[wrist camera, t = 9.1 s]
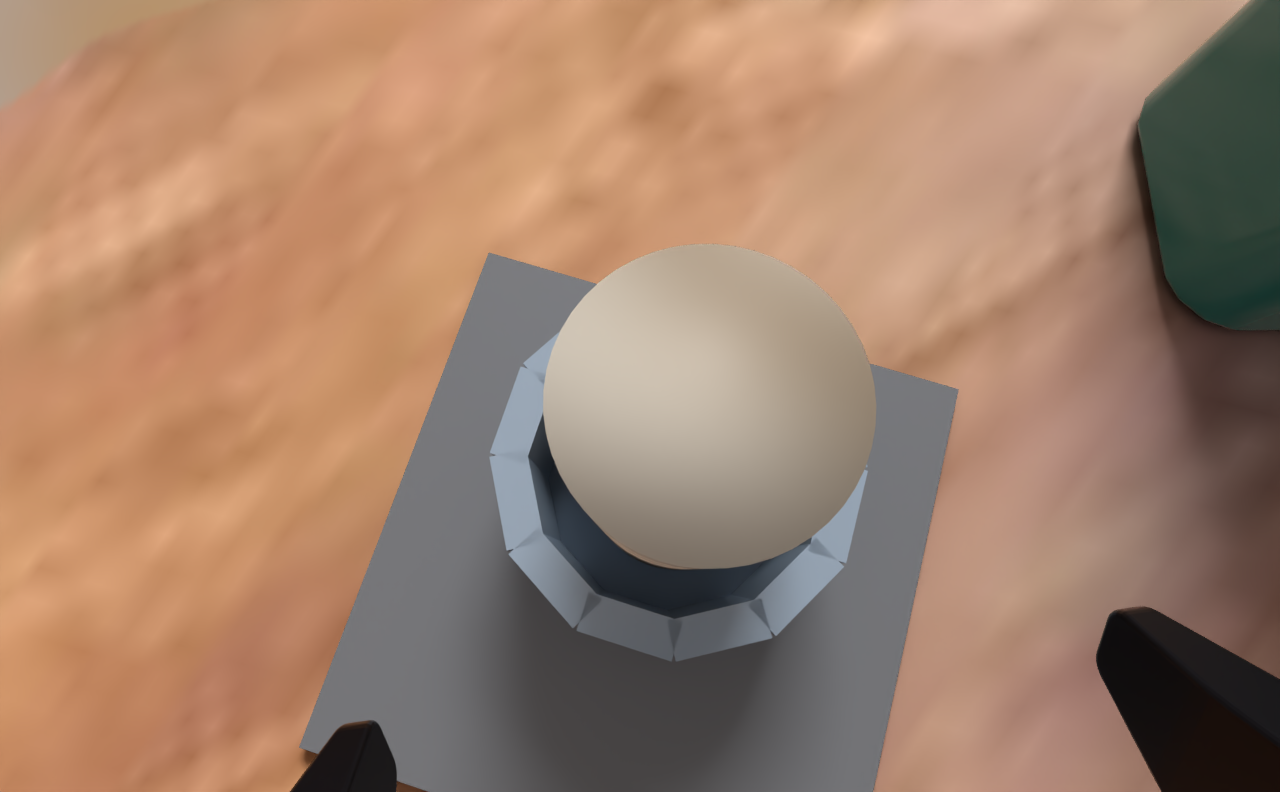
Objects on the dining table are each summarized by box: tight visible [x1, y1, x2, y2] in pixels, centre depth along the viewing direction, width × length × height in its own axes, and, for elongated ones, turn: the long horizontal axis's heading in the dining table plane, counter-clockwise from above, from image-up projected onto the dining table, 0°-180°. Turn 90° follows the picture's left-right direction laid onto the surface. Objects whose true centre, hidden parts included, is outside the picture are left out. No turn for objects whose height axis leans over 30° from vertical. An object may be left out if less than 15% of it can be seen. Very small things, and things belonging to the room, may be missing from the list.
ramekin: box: [489, 332, 868, 662], centre depth 18 cm, size 8×8×4 cm
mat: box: [299, 253, 958, 792], centre depth 20 cm, size 14×14×1 cm
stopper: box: [543, 244, 876, 570], centre depth 15 cm, size 4×4×10 cm
